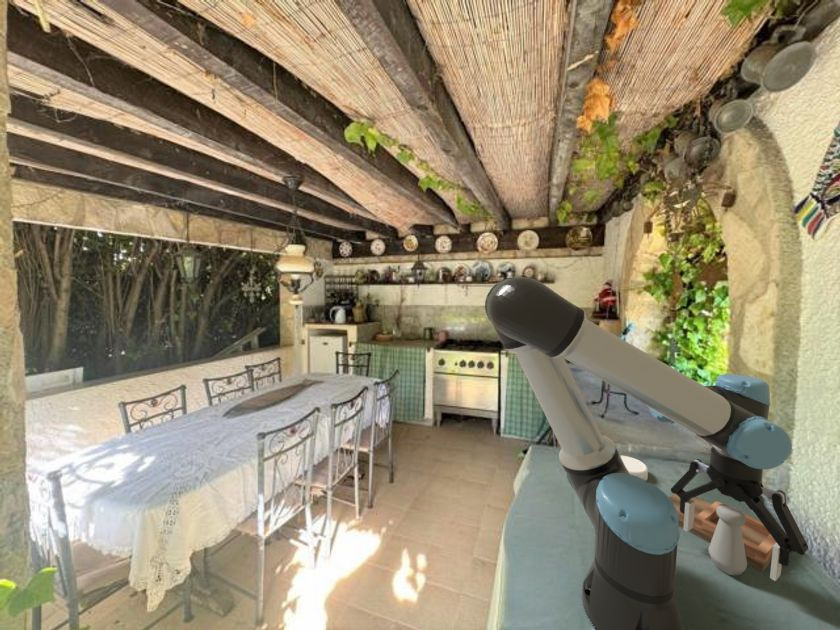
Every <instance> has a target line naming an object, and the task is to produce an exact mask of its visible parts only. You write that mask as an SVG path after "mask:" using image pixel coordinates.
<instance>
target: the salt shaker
mask: <svg viewBox="0 0 840 630" xmlns="http://www.w3.org/2000/svg"><path fill="white" fill-rule="evenodd" d="M716 513H717V515H718V517H719V521H718V523H717V526H716V529H715V532H714V535H713V538H712V540H711V543H709V547H708V553H709V554H708V555H710V559H711V560H712V563H713V564H714V566H715V567H716V568H717V569H718V570H720V571H721V572H723V573H725V574H727V575H729V576H740V575H742V574H743V572H745V571H746V570H747V567H748V564H747V560H746V554H745V549H744V543H743V538H742V532H741V527H740V526H742V525H744V524H745V521H746V517H745V514H746V513H745V512H743V510H741V509H740V508H738V507H736V506H734V505H731V504H728V503H723V504H720V505H718V507H717V509H716Z"/></svg>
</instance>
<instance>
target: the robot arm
mask: <svg viewBox="0 0 840 630" xmlns="http://www.w3.org/2000/svg"><path fill="white" fill-rule="evenodd" d="M484 310H485V314H486V317H487V319H488V320H489V321H490V323H491V324H492V326H493V329H494V330H495V332H496V334H497V336H498V338H499V341H500V343H501V344H502V346H503V348H504V350H505V351H507V352H510V353H513V354H515V357H516V359H517V360H518V362H519V365H520V367H521V368H522V370H523V373H524V374H525V377H526V378H527V381H528V383H529V385H530V387H531V389H532V391H533V393H534V395H535V397H536V399H537V400H538V403H539V405H540V407H541V409H542V412H543V414H544V416H545V417H546V419H547V421H548V423H549V425H550V428H551V430H552V432H553V433H554V435H555V438H556V440H557V442H558V444H559V446H560V447H561V448H560V451H559V453H558V459H559V462H560V463H561V464H560V465H561V466H562V467H563V470H564V471H565V472H564V473H566V474H565V475H566V478H567V481H568V483H569V485H570V486H571V488H572V489H573V490H574V492H575V494H576V496H577V498H578V500H579V502H580V503H581V505H582V506H583V507H582V508H583V509H584V511H585V513H586V514H587V516H588V518H589V520H590V523H591V524H592V526H593V529H594V533H595V536H594V537H595V538H594V557H593V558H594V560H593V561H592V563H591V566H590V567H589V569H588V571H587V573H586V574H585V577H584V579H583V582H582V587H581V589H582V590H581V603H582V602H583V603H582V606H584V607H583V610H584V609H585V610H584V612H585V611H586V613H585V615H586V614H587V615H586V617H587V616H588V617H587V619H588V618H589V619H590V620H589V619H588V620H589V622H590V621H591V622H592V623H591V622H590V623H591V625H592V624H593V625H592V626H593V627H594V626H595V628H596V629H597V630H685V626H684V622H683V619H682V616H681V613H680V609H679V606H678V603H677V599H676V597H675V581H676V570H677V558H678V557H677V556H678V545H679V544H678V543H679V540H680V536H681V534H680V533H681V532H680V526H679V523H678V513H677V510H676V508H675V506H674V504H673V503H672V501H671V500H670V498H669V497H670V496H668V494H666V493H665V492H664V491H663V490H662V489H660V488H659V487H658V486H657V485H655V484H653V483H650V482H649V483H648V482H647V480H646V481H645V480H644V479H642V478H640V477H637V476H634V475H631V474H630V473H629V472H628V470H627V468H626V467H625V465H624V463H623V461H622V459H621V457H620V456H621V454H620V453H619V451H618V449H617V447H616V445H615V443H614V441H613V440H612V439H610V438H609V437H608V436H605V435H602V433H601V432H600V429H599V428H598V425H597V423H596V421H595V419H594V416H593V415H592V413H591V411H590V409H589V407H588V405H587V403H586V401H585V399H584V396H583V395H582V393H581V392H582V391H581V390H580V389H579V387H578V385H577V382H576V381H575V378H574V377H573V374H572V372H571V370H570V367H569V366H568V364H567V361H569V362H570V363H572V364H573V365H575V366H577V367H579V368H580V369H582V370H584V371H586V372H587V373H589V374H590V375H593V376H594V377H596V378H598V379H599V380H601V381H602V382H605V383H606V384H608V385H610V386H611V387H614V388H615V389H616V390H618V391H621V392H622V393H624V394H626V395H627V396H628V397H631V398H632V399H634V400H636V401H638V402H639V403H641V404H642V405H644V406H646V407H648V409H649V413H651V415H652V417H653V419H655V420H656V421H658V422H662V423H670V424H677V425H679V426H681V427H682V428H684V429H686V430H687V431H689V432H691V433H693V434H695V435H696V436H697V437H699V438H701V439H702V440H704V441H706V442H707V443H709V444H711V446H712V447H711V449H710V459H709V465H707V464H705V463H704V462H703V461H702V460H701V459H700V458H699V459H698V458H697V459H695V460H693V461H691V462H690V464H689V468H688V470H687V472H685V473H684V475H682V477H681V478H679V480H678V481H676V483H675V484H674V485H673V486H672V487H671V488H670V491H671V493H672V494H677V495H678V496H679V497H680V512H681V513H683V514H684V527H683V531H685V532H686V533H688V532H689V530H691V529H692V528H693V522H694V509H695V500H693V499H691V498H694V497H698V496H701V495H703V494H706V493H708V492H711V491H713V490H716V489H717V491H719V493H720V494H721V495H724V496H725V497H730V498H732V499H733V500H735V501H737V502H739V503H742V502H744V503H745V505H746V506H747V507H748V509H750V510H751V511H752V512H753V513H754V514H755V515H756V517H757V518H758V520H760V521H761V522H762V524H763V525H764V526H765V528H766V529H767V530H768V532H769V533H770V534H771V536H772V537H773V538H774V540H775V541H776V543H775V544H774V545H773V551H772V561H771V563H770V564H771V565H770V573H769V579H771V580H772V581H774V582H777V580H778V579H779V577H780V576H781V573H782V566H783V567H786V568H787V567H788V566H789V565H790V563H791V562H792V553H793V552H794V553H796V554H797V555H801V556H803V555H805V554H806V552H807V551H808V550H809V549H810V548H809V545H808V543H807V541H806V539H805V537H804V535H803V533H802V531H801V529H800V527H799V526H798V524H797V522H796V519H795V518H794V516H793V514H792V512H791V510H790V508H789V506H788V505H787V495H786V492H785V491H783V490H780V489H777V490H773V489H769V488H766V487H765V486H764V485H763V482H762V480H763V471H764V470H771V469H774V468H778V467H779V466H781V465H783V464H784V463H785V461H787V459H788V458H789V457H790V456H791V453H792V449H793V444H792V440H791V437H790V436H789V434H788V433H787V432H786V430H785V429H784V428H782V427H781V426H779V425H778V424H776V423H773V422H771V420H769V411H770V406H771V403H770V400H771V399H770V398H771V395H770V386H769V383H767V382H766V381H765V380H762V379H760V378H757V377H753V376H747V375H743V374H736V373H735V374H733V373H725V374H720V375H718V376H717V377H716V381H715V385H703V384H702V383H699V381H696V380H695V379H693V378H691V377H689V376H687V375H686V374H684V373H682V372H680V371H679V370H677V369H675V368H674V367H671V366H670V365H668V364H666V363H664V362H663V361H661V360H659V359H657V358H656V357H654V356H652V355H650V354H648V353H647V352H646V351H644V350H642V349H639V348H638V347H637V346H634V345H633V344H631V343H629V342H628V341H626V340H624V339H622V338H620V337H619V336H617V335H615V334H614V333H612V332H610V331H608V330H606V329H605V328H603V327H601V326H599V324H596V323H594V322H592V321H591V320H589V319H588V317H587V312H586V310H584V309H582V308H581V307H579V306H577V305H575V304H574V303H572V302H570V301H569V300H568V299H566V298H564V297H563V296H562V295H560V294H559V293H557V292H556V291H554V290H553V289H551V288H550V287H549V286H547V285H546V284H544V283H542V282H541V281H540V280H537V279H534V278H531V277H528V276H527V277H526V276H523V277H522V276H517V277H507V278H505V279H502V280H500V281H498V282H497V283H494V285H493V286H492V287H491V288H490V289H489V290H488V293H487V294H486V297H485V300H484ZM566 360H567V361H566ZM704 472H706V474H707V475H708V478H709V479H710V481H707V482H705V483H703V484H702V485H698V486H696V487H694V488H691V489H690V490H686V491H685V490H684V489H685V487H686V486H687V485H688V484H689V483H690V482H692V481H693V479H694V478H695V477H696V476H697V475H698V474H702V473H704ZM762 495H763V496H765V497H767V500H768V502H770V503H771V504H772V508H773V510H774V512H775V514H776V516H777V518H778V521H779V522H780V523H779V522H778V521H777V520H776V519H775V517H774V516H773V515H772V514H771V512H770V511H769V509H768V508H767V507H766V505H765V503H764V500H763V499H762V498H761V497H760V496H762ZM780 524H781V525H780ZM781 526H782V527H781ZM785 532H786V533H785ZM595 628H594V629H595ZM596 629H595V630H596Z"/></svg>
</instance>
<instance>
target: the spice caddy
mask: <svg viewBox="0 0 840 630" xmlns="http://www.w3.org/2000/svg"><path fill="white" fill-rule="evenodd" d="M668 497H669V498H670V500H671V501H672V503H673V504H674V506H675V508H676V510H677V513H678V523H679V528H683V527H684V514H683V513H681V512H680V497H679V496H678V495H677V494H674V493H672V494H671V495H670V496H668ZM691 499H693V500H695V509H694V522H693V528H692V529H691V530H689V531H688V532H689V533H691V534H693V535H695V536H697V537H699V538H700V539H702V540H703V541H706V542H707V543H709V544H710V543H711V540H712V538H713V535H714V532H715V529H716V526H717V523H718V521H719V517H718V515H717V513H716V509H717V507H718V505H720V504H724V502H721V501H718V500H716V501H714V502H713V503H711V502H708V501H706V500H704V499H702V498H700V497H698V496H696V497H694V498H691ZM744 514H745V517H746V521H745V524H744V525H742V526H740V527H741V532H742V538H743V543H744V549H745V554H746V560H747V565H750V566H751V567H752V568H755V569H756V570H758V571H760V572H762V573H763V572H764V571H765V570H766V568H767V567H768V566H769V565H770V564H771V561H772V551H773V545H774V544H775V543H776V541H775V540H774V538H773V537H772V536H771V534H770V533H769V532H768V530H767V529H766V528H765V526H764V525H763V524H762V522H761V521H760V520H759V518H758V519H757V518H756V517H753V516H752V515H749V514H747V513H744ZM784 532H785V531H784ZM785 533H786V532H785Z"/></svg>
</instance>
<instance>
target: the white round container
mask: <svg viewBox="0 0 840 630" xmlns="http://www.w3.org/2000/svg"><path fill="white" fill-rule="evenodd" d="M620 457H621V459H622V461H623V463H624V465H625V467H626V468H627V470H628V472H629V473H630V474H631V475H634V476H637V477H640V478H642V479H644V480H645V481H646V482H647V481H648V478H649V477H648V475H649V468H648V466H647V465H646V464H645V463H644V462H642V461H641V460H639V459H637V458H634V457H632V456H627V455H620Z"/></svg>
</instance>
